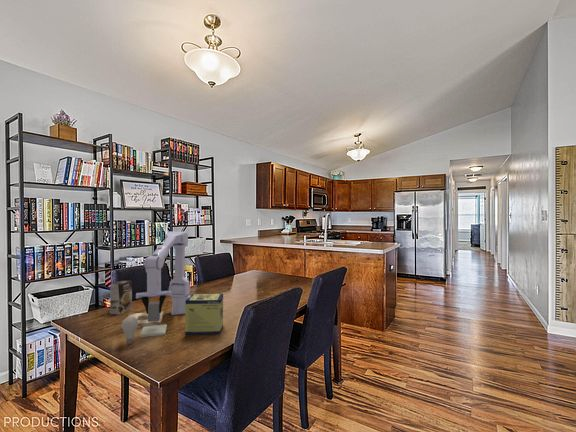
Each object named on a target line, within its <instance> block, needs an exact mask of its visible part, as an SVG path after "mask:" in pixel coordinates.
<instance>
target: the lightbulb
mask: <svg viewBox="0 0 576 432" xmlns="http://www.w3.org/2000/svg"><path fill="white" fill-rule="evenodd" d="M137 326H138V321H137V319H136V318H134V317H128V316H126V317H125V318H124V319H123V320H122V322H121V325H120V327H121V330H122V332H123V333H124V336H125V342H126V344H128V345H131V344H132V343H133V342H134V338H135V333H136V331H137V329H138V328H137Z"/></svg>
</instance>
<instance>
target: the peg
mask: <svg viewBox="0 0 576 432" xmlns="http://www.w3.org/2000/svg"><path fill="white" fill-rule="evenodd" d="M159 307H160V304H159V300H157V301H149V304H148V322H151V321H159V319H160V313H159Z"/></svg>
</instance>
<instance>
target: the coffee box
mask: <svg viewBox="0 0 576 432" xmlns="http://www.w3.org/2000/svg"><path fill="white" fill-rule="evenodd" d="M109 286H110V293H109V295H110V296H109V297H110V299H109V300H110V301H109V305H110V306H109V314H110V315H118V316H120V315H122V314H123V315H124V314H125V313H127V312H130V311H133V304H132V303H133V293H132V292H133V289H132V288H133V281H132V280H119V281H116V282H112V283H110V285H109Z"/></svg>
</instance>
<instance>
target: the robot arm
mask: <svg viewBox="0 0 576 432" xmlns="http://www.w3.org/2000/svg"><path fill="white" fill-rule="evenodd" d="M188 241H189V235H188V233H187V231H186V230H185V231H167V232H166V233H165V240H164V242H163V243H162V245H159V246H158V247H156V249H155V250H154V252H153V253H152V254H151V255H149V256H148V257H146V258H145V259H144V264H143V266H144V268H145V273H146V291H145V292H144V291H143V292H136V294H135V299H136V300H137V299H141V303H142V304H143V306H144V309H145V311H146V312H145V313H147V314H148V304H149V302H150V298H156V297H158V301H159V304H160V307H159V313H161V311H162V308H163V304H164V302H165V300H166V297H171V301H172V305H171V306H172V309H171V314H170V315H171V316H175V315H185V304H186V300H187V299H188V298H189V296H190V295H191V294H190V291H191V285H190V280H189V279H187V278H186V277H185V259H186V257H185V256H186V247H188V243H189V242H188ZM172 247H173V248H174V249H175V250H174V278H173V279H171V280H170V281H169V286H168V290H162V269H163V267H164V263H165V259H166V258H167V256H168V255H169V253H170V249H171V248H172Z"/></svg>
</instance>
